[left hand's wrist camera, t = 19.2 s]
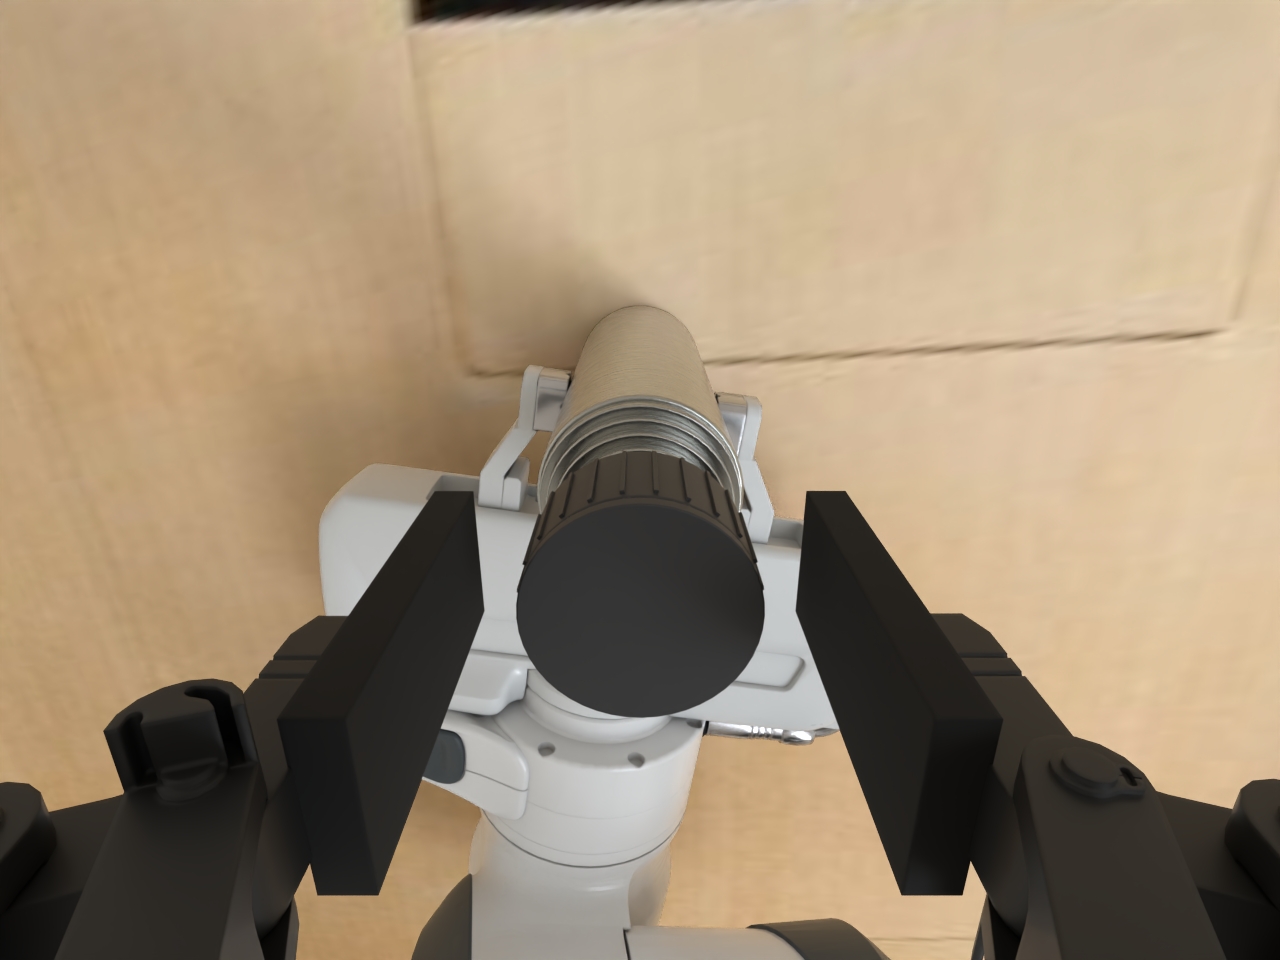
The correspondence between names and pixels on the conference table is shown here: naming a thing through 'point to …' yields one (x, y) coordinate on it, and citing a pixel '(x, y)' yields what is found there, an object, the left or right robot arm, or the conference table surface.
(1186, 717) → the conference table surface
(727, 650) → the cap
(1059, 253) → the conference table surface
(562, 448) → the bottle
